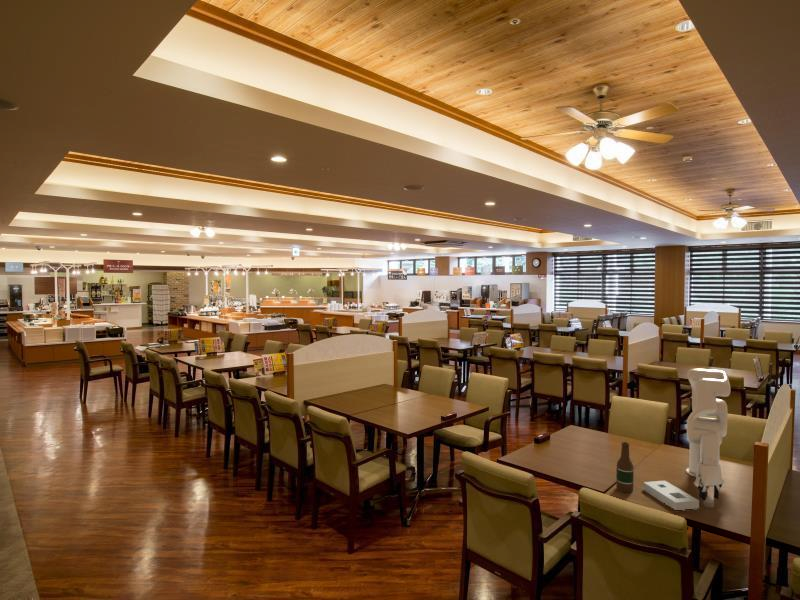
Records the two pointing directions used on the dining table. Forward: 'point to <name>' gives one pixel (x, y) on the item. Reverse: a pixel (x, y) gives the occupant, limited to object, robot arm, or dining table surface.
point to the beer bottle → (624, 470)
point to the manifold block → (670, 495)
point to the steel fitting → (709, 496)
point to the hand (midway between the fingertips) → (708, 498)
